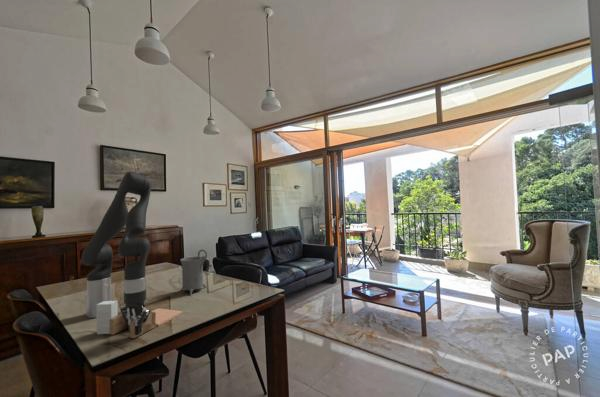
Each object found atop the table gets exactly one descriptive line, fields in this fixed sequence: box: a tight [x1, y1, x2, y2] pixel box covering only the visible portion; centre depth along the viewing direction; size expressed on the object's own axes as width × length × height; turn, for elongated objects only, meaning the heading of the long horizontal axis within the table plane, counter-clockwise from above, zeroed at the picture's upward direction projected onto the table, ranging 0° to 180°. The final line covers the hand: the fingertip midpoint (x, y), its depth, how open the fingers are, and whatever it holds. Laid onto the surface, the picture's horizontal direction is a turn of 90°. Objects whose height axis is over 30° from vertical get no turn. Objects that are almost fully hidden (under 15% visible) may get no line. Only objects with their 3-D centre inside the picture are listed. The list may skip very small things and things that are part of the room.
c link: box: [109, 311, 156, 339], centre depth 108 cm, size 10×13×6 cm
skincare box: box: [96, 300, 119, 335], centre depth 108 cm, size 6×4×12 cm
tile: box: [150, 308, 184, 327], centre depth 121 cm, size 15×14×1 cm
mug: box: [179, 249, 208, 296], centre depth 158 cm, size 19×15×25 cm
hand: (135, 333), depth 103 cm, fingers closed on c link
